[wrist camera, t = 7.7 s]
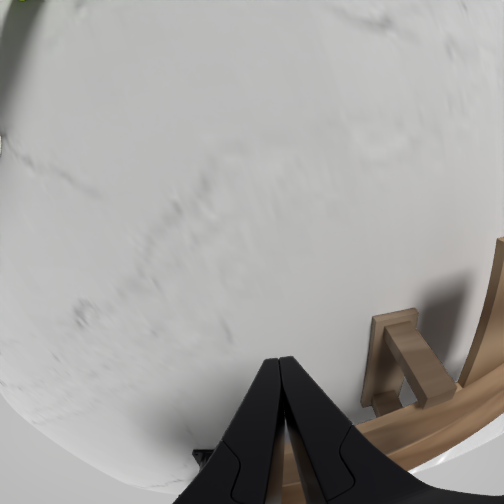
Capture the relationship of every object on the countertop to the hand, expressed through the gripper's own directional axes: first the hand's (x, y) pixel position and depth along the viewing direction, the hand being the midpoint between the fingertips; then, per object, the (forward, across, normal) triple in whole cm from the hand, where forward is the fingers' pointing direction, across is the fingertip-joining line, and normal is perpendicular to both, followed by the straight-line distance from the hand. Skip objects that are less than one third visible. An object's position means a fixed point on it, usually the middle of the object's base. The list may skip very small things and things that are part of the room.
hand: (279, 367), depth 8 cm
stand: (+12, -10, +13) cm, 20 cm away
